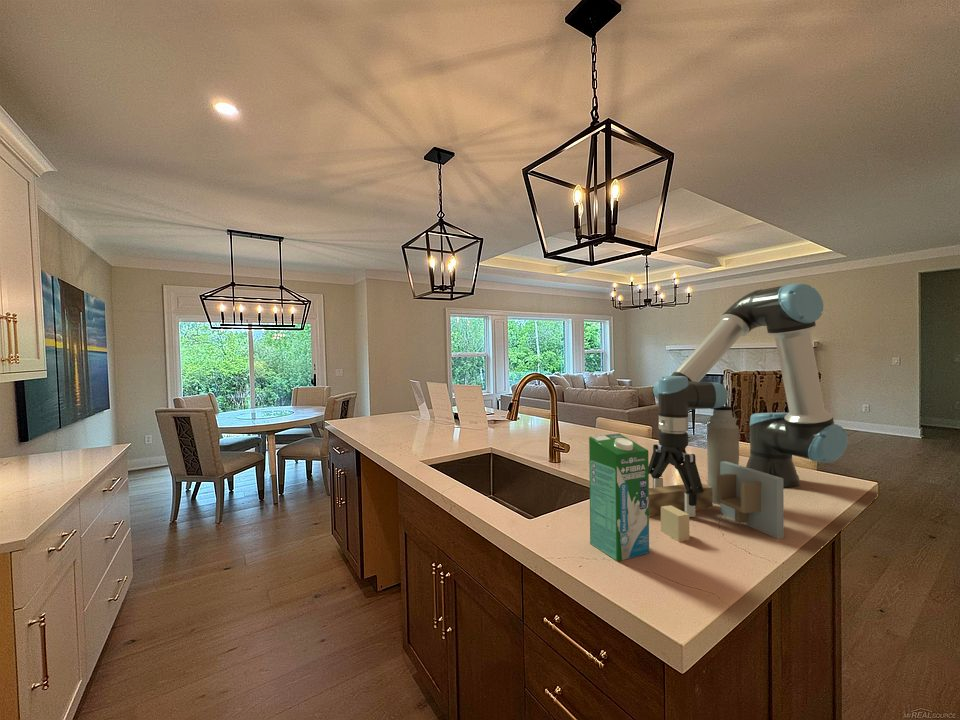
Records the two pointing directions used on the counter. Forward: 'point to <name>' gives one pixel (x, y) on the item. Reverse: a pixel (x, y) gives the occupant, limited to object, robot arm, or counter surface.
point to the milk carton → (619, 496)
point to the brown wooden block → (677, 498)
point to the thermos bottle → (721, 444)
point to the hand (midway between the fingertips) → (673, 508)
